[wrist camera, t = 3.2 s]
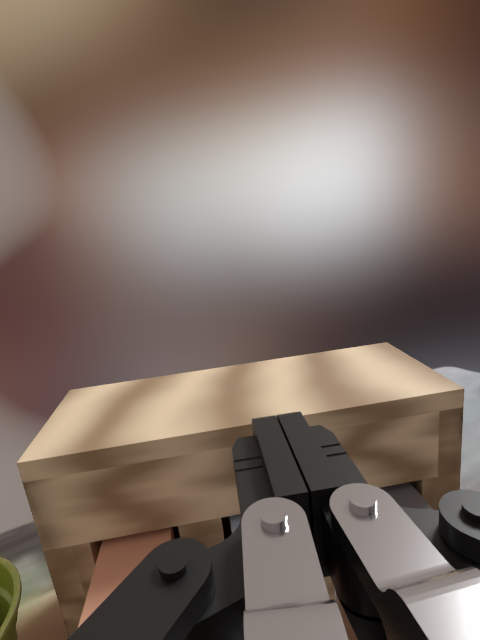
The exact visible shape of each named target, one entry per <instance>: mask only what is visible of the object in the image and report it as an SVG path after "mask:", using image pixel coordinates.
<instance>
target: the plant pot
mask: <svg viewBox="0 0 480 640" xmlns="http://www.w3.org/2000/svg"><path fill="white" fill-rule="evenodd" d="M21 589H22V587H21V580H20V575H19V573H18V570H17V568H16V567H15V566H14V565H13V564H12V563H11V562H10V561H8V560H7V559H4V558H1V557H0V640H17V632H16V621H17V614H18V607H19V603H20V598H21Z"/></svg>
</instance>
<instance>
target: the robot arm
mask: <svg viewBox="0 0 480 640" xmlns="http://www.w3.org/2000/svg"><path fill="white" fill-rule="evenodd" d="M252 432H253V436H247V437H240V438H237V440H236V442H235V444H234V446H233V448H232V454H233V462H234V470H235V478H236V486H237V494H238V500H239V507H240V513H241V521H240V524H239V525H238V527H237V529H236V530H235V531H234V533H233V534H231V535H230V536H229V537H228V538H227V539H225V540H224V541H222V542H220V543H219V544H216V545H214V546H212V547H210V548H208V549H207V548H206V546H205V545H204V544H202V543H201V542H199V541H198V540H195V539H191V538H177V539H172V540H169V541H167V542H164V543H162V544H160V545H159V546H157V547H156V548H154V549H153V550H152V551H151V552H150V553H149V554H148V555H147V556H146V557H145V558H144V559H143V560H142V561H141V562H140V563H139V564H138V565H137V566H136V567H135V568H134V569H133V571H132V572H131V573H130V574H129V575H128V576H127V577H126V578H125V579H124V580H123V581H122V582H121V583H120V584H119V585H118V586H117V587H116V588H115V590H114V591H113V592H112V593H111V594H110V595H109V596H108V597H107V598H106V599H105V600H104V601H103V602H102V603H101V604H100V605H99V606H98V607H97V609H96V610H95V611H94V612H93V613H92V614H91V615H90V616H89V617H88V618H87V619H86V620H85V621H84V622H83V623H82V624H81V625H80V626H79V628H78V629H77V630H76V631H75V632H74V633H73V634H72V635H71V636H70V637H69V638H68V639H67V640H348V637H349V639H350V640H480V492H477V491H472V490H455V491H451V492H448V493H446V494H445V495H443V496H442V498H441V499H440V501H439V510H428V509H415V508H406V507H402V506H399V505H398V504H397V503H396V501H395V500H394V499H393V498H392V497H391V496H390V495H389V494H388V493H387V492H385V491H384V490H382V489H380V488H378V487H375V486H372V485H369V484H368V483H367V482H366V480H365V479H364V477H363V476H362V474H361V473H360V471H359V470H358V468H357V467H356V465H355V464H354V462H353V461H352V460H351V458H350V457H349V455H348V454H347V453H346V451H345V449H344V448H343V446H342V445H341V444H340V442H339V440H338V439H337V438H336V436H335V435H334V433H333V432H331V431H330V430H328V429H326V428H325V427H323V426H321V425H316V426H310V427H309V425H308V423H307V422H306V420H305V418H304V416H303V415H302V413H301V412H300V411H299V412H292V413H286V414H279V415H276V416H275V415H273V416H266V417H260V418H253V419H252ZM328 576H330V577H331V580H332V582H333V585H334V587H335V600H334V599H332V600H330V598H329V595H328V591H327V588H326V584H325V580H324V577H328ZM346 632H347V633H346ZM347 634H348V636H347Z"/></svg>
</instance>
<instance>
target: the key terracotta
mask: <svg viewBox="0 0 480 640" xmlns="http://www.w3.org/2000/svg"><path fill="white" fill-rule="evenodd" d="M172 539H175V537H174V531H173V527H169V528H164V529H159V530H153V531H148V532H143V533H137V534H132V535H127V536H122V537H116V538H111V539H106V540H102V543H101V547H100V551H99V554H98V558H97V561H96V565H95V568H94V572H93V576H92V579H91V583H90V586H89V590H88V593H87V597H86V601H85V604H84V608H83V611H82V615H81V618H80V622H79V626H80V625H81V624H82V623H83V622H84V621H85V620H86V619H87V618H88V617H89V616H90V615H91V614H92V613H93V612H94V611H95V610H96V609H97V607H98V606H99V605H100V604H101V603H102V602H103V601H104V600H105V599H106V598H107V597H108V596H109V595H110V594H111V593H112V592H113V591H114V590H115V588H116V587H117V586H118V585H119V584H120V583H121V582H122V581H123V580H124V579H125V578H126V577H127V576H128V575H129V574H130V573H131V572H132V571H133V569H134V568H135V567H136V566H137V565H138V564H139V563H140V562H141V561H142V560H143V559H144V558H145V557H146V556H147V555H148V554H149V553H150V552H151V551H152V550H153V549H154V548H156V547H157V546H159V545H160V544H162V543H164V542H167V541H169V540H172ZM79 626H78V628H79Z"/></svg>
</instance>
